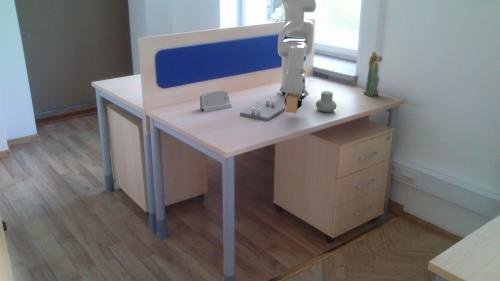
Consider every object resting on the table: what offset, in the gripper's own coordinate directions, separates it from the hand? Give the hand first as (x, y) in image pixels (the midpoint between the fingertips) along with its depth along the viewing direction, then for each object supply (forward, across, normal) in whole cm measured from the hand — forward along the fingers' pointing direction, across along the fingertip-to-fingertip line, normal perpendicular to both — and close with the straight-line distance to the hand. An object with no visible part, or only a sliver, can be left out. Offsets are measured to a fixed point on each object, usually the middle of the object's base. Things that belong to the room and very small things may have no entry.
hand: (293, 106), depth 240 cm
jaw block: (+1, 0, 0) cm, 1 cm away
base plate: (+6, +16, +1) cm, 17 cm away
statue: (+8, -22, -62) cm, 67 cm away
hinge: (+7, +42, +8) cm, 43 cm away
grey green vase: (+7, -10, -19) cm, 23 cm away
